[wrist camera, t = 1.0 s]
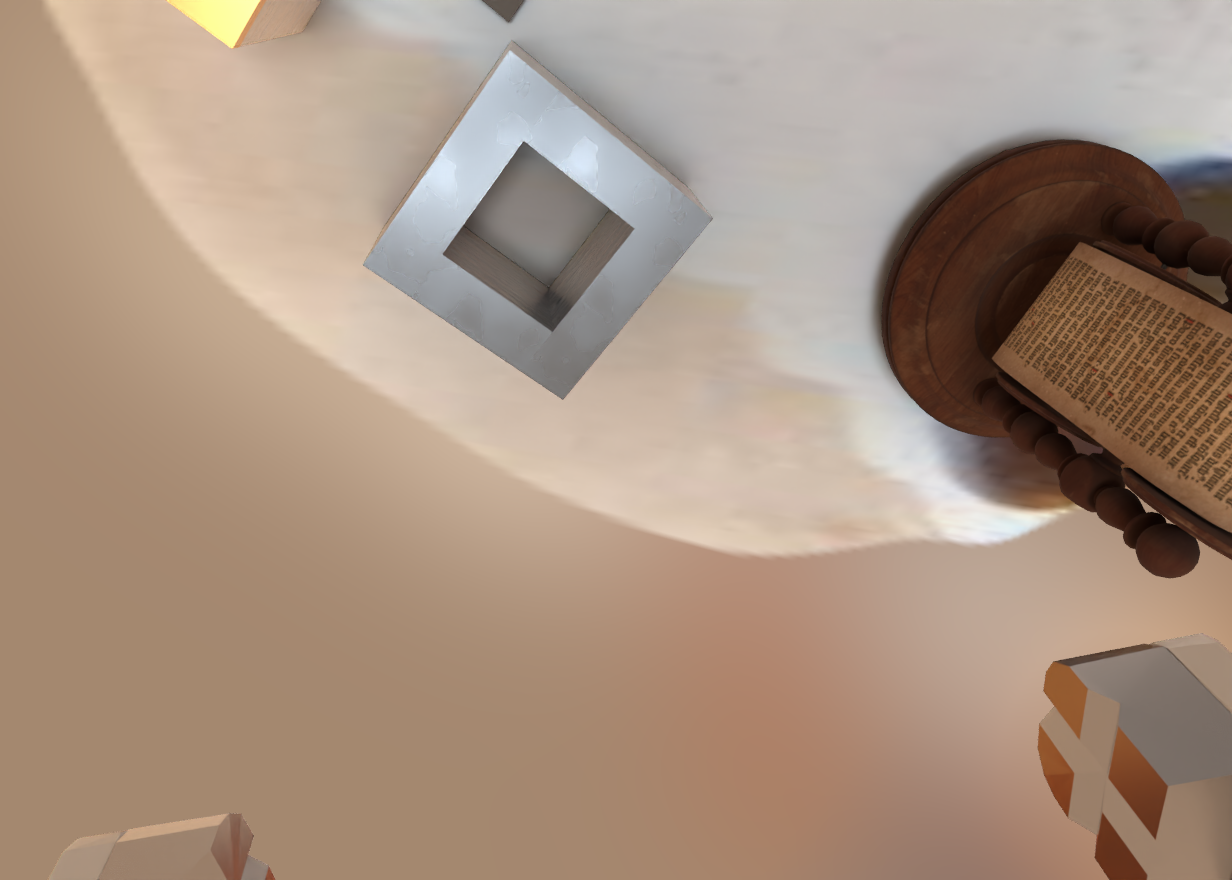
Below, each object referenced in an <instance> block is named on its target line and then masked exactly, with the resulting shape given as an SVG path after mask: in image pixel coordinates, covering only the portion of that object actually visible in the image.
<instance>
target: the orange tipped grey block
mask: <svg viewBox="0 0 1232 880" xmlns="http://www.w3.org/2000/svg"><path fill="white" fill-rule="evenodd" d="M166 1H168V2H169V3H170V4H172V5H173V6H174V7H176V8H177V9H179V10H180V11H181V12H183V13H184V14H185V15H187V16H188V17H190V18H191V19H192V20H194V21H195V22H196V23H198V24H199V25H201V26H202V27H203V28H205V29H206V30H207V31H209V32H210V33H211V34H213V35H214V36H216V37H217V38H218V39H220V40H221V41H222V42H224V43H225V44H227V45H228V46H229V47H231V48H232V49H233V48H237V47H242V46H246V45H250V44H254V43H258V42H263V41H267V40H271V39H275V38H280V37H284V36H288V35H292V34H296V33H301V32H303V31H304V29H305V27H306V25H307V24H308V22H309V20H310V19H311V17H312V15H313V14H314V12H315V10H316V9H317V7H318V5H319V4H320V2H321V0H166Z"/></svg>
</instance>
